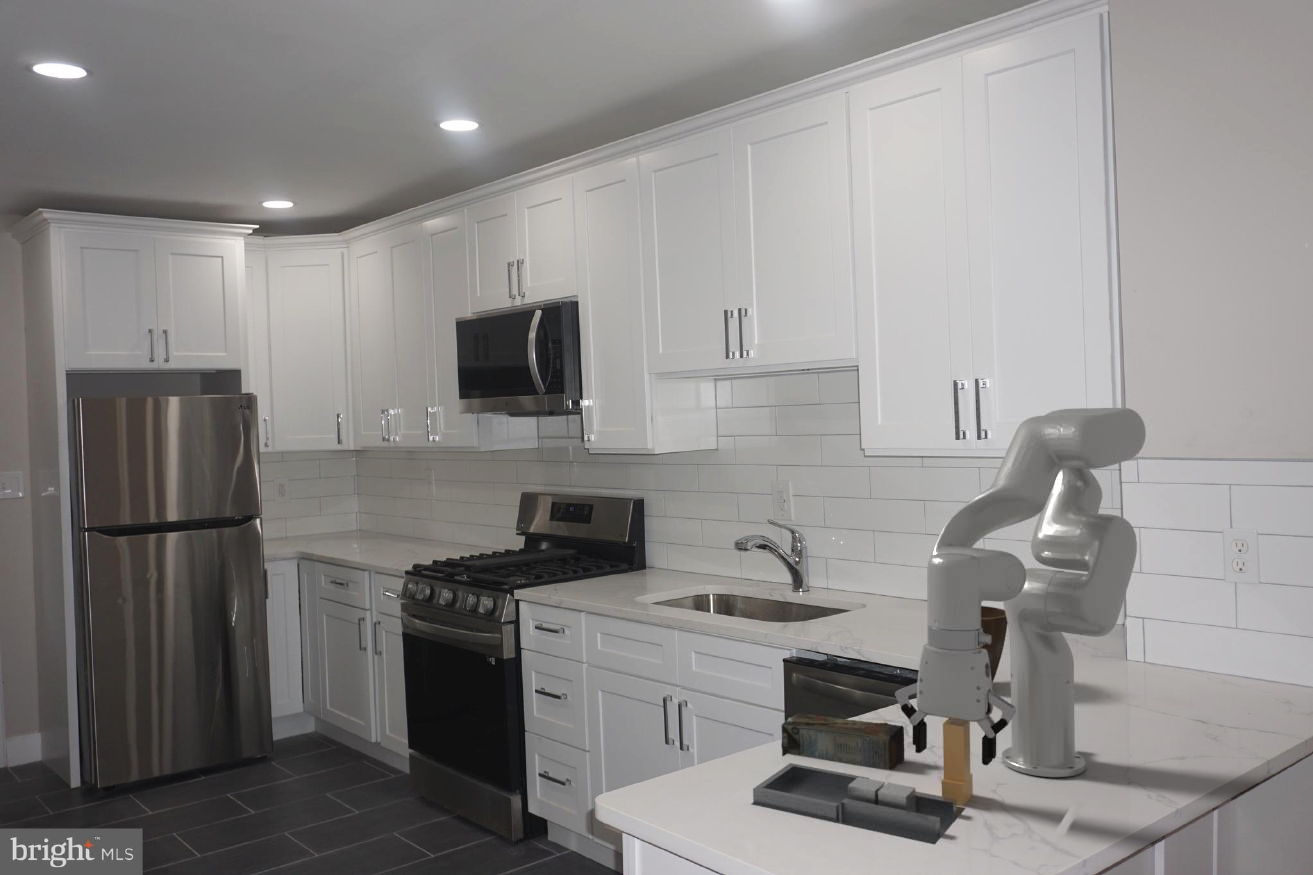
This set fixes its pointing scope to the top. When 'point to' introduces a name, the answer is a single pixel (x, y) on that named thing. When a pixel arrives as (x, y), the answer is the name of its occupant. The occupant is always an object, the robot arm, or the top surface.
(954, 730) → the tan stepped beam
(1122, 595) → the robot arm
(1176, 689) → the top surface
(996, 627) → the plant pot
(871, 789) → the chip
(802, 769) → the slot board
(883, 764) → the beverage carton
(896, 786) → the grey cube
